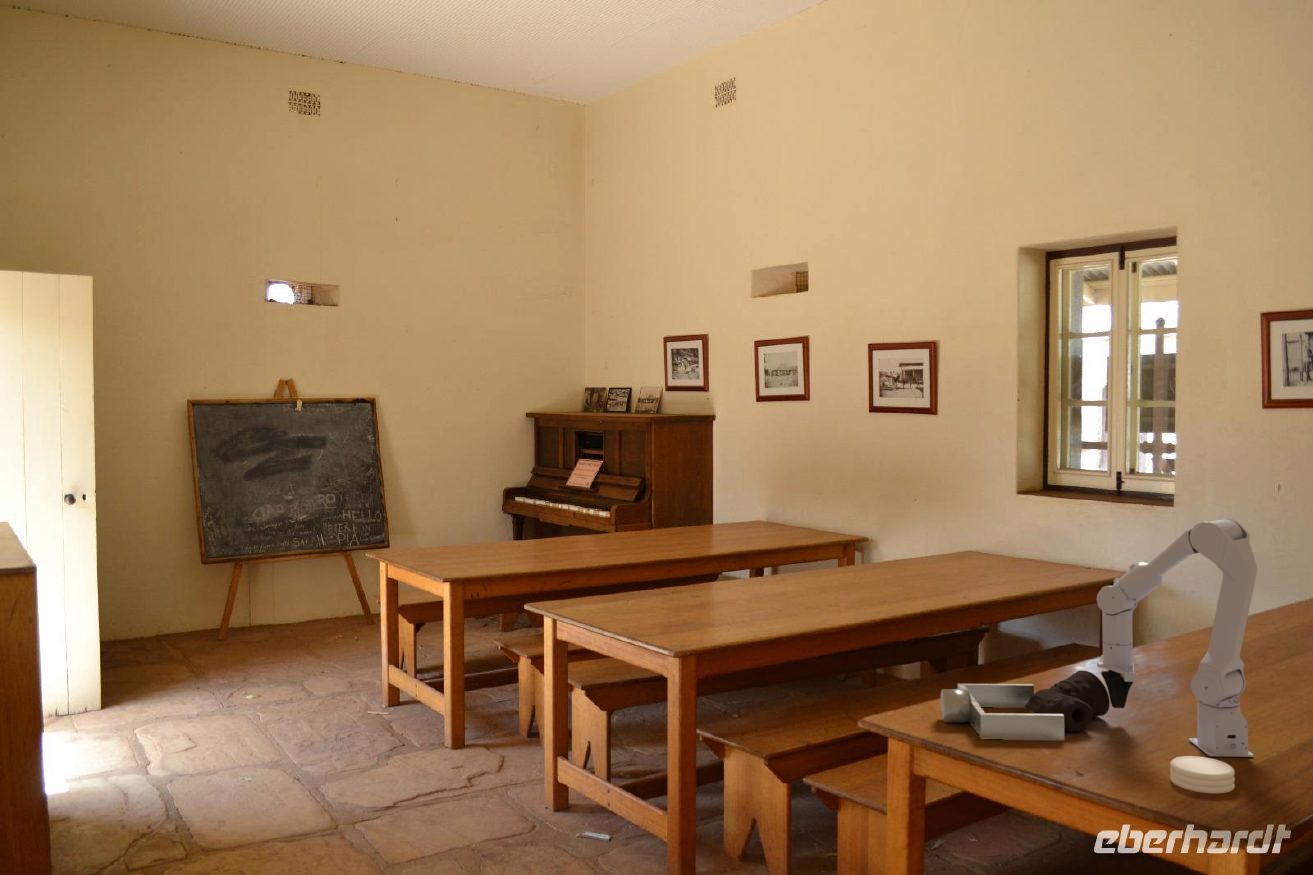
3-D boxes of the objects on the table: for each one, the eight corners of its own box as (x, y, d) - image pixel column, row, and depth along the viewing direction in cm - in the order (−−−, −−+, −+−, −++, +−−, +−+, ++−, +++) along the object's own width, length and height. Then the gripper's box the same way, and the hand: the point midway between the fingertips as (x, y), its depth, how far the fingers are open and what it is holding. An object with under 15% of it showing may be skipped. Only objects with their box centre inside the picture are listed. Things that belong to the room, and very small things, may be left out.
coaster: (1208, 772, 183) (1207, 753, 183) (1248, 792, 173) (1248, 772, 173) (1157, 776, 181) (1157, 757, 181) (1195, 797, 172) (1195, 776, 171)
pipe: (1058, 698, 204) (1118, 678, 208) (1013, 684, 218) (1070, 665, 222) (1067, 745, 204) (1128, 724, 208) (1022, 728, 218) (1079, 709, 223)
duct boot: (1064, 740, 201) (1064, 706, 201) (954, 739, 203) (953, 705, 203) (1032, 706, 224) (1032, 676, 224) (934, 705, 226) (933, 675, 226)
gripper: (1086, 634, 219) (1087, 697, 219) (1109, 650, 204) (1110, 717, 204) (1120, 634, 218) (1121, 697, 218) (1146, 650, 203) (1146, 717, 204)
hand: (1118, 707), depth 211 cm, fingers closed
